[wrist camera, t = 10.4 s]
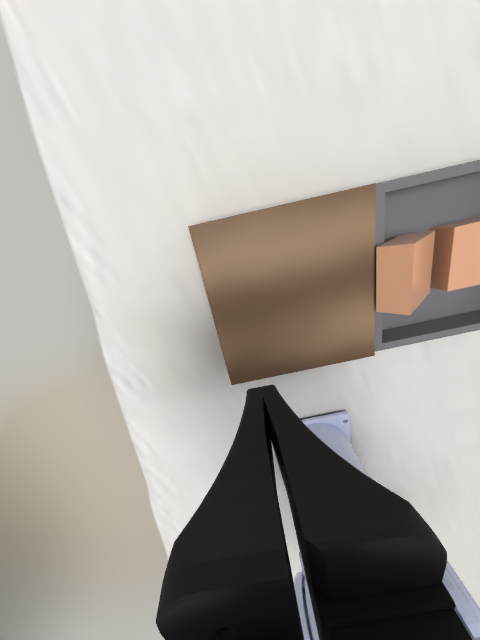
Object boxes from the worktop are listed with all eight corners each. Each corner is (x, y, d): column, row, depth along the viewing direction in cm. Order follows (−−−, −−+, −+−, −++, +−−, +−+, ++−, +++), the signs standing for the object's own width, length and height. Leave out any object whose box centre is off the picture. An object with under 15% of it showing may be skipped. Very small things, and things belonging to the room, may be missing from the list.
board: (354, 338, 20) (374, 355, 18) (231, 364, 21) (231, 385, 18) (350, 192, 16) (375, 183, 13) (195, 227, 17) (188, 226, 14)
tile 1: (447, 291, 17) (425, 285, 18) (509, 277, 16) (480, 273, 18) (454, 227, 15) (429, 228, 17) (523, 211, 15) (490, 213, 17)
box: (481, 312, 20) (515, 322, 18) (357, 338, 20) (374, 351, 18) (511, 154, 16) (560, 141, 13) (354, 191, 16) (375, 183, 14)
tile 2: (398, 291, 18) (429, 293, 17) (376, 311, 16) (410, 315, 15) (400, 234, 17) (435, 230, 15) (376, 247, 14) (414, 243, 13)
